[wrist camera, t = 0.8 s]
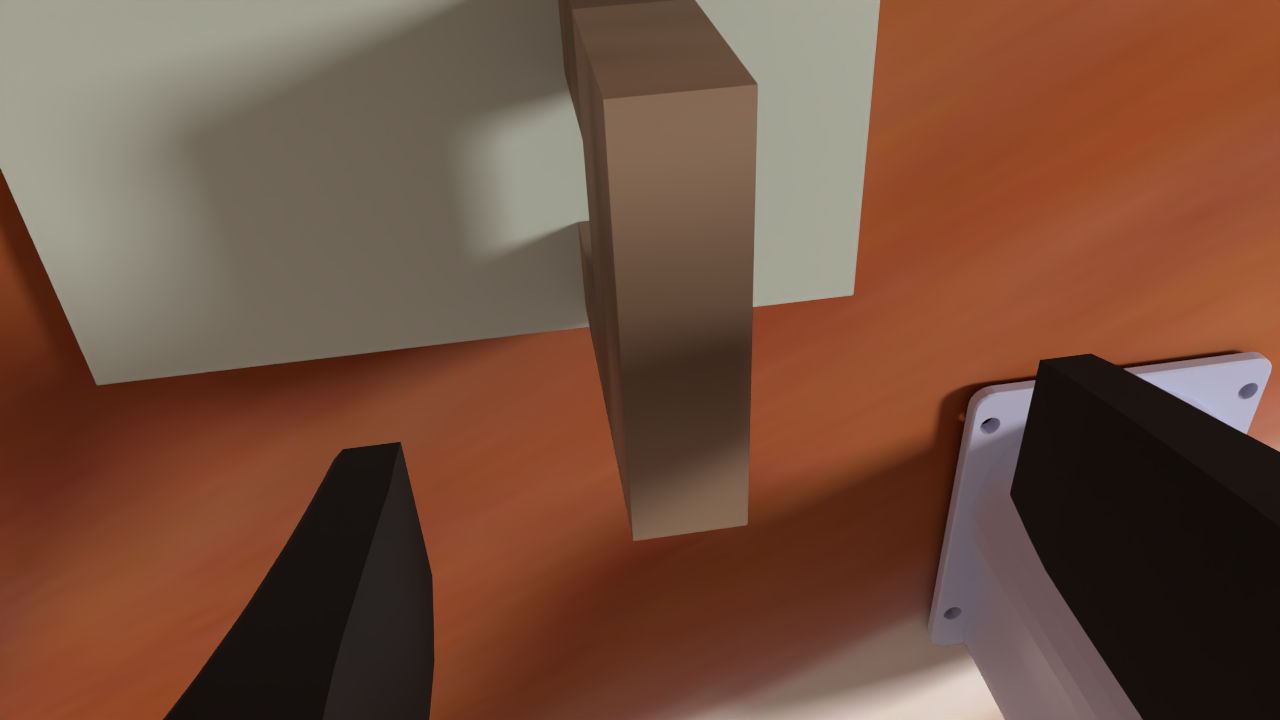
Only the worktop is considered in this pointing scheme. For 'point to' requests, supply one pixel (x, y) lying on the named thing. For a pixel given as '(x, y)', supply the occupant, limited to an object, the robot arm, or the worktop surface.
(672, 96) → the wooden c-clamp shape
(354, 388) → the worktop surface
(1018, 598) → the robot arm
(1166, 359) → the worktop surface
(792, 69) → the board
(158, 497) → the worktop surface
